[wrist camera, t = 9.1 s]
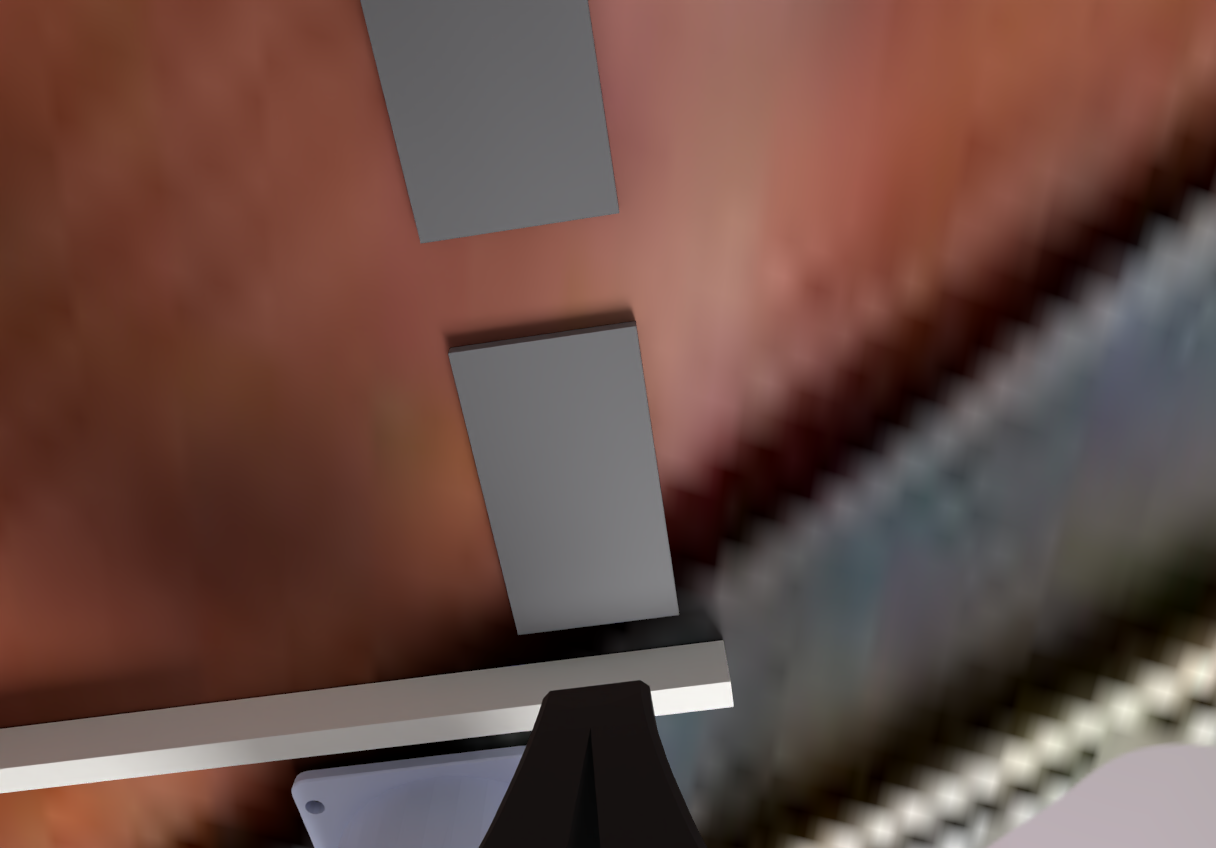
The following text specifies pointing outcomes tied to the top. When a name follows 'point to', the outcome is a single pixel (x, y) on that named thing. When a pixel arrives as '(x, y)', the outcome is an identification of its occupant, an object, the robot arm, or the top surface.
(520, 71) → the rectangular frame
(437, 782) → the robot arm
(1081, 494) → the top surface
